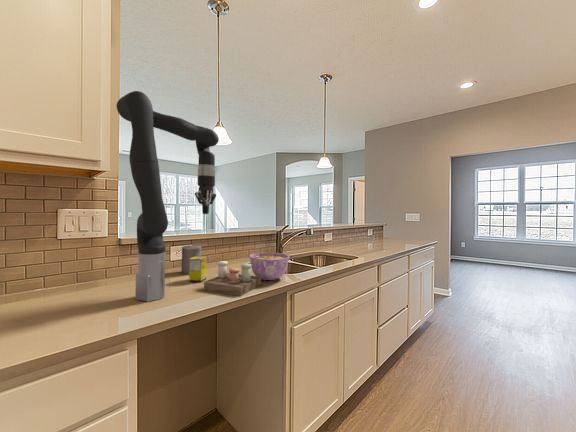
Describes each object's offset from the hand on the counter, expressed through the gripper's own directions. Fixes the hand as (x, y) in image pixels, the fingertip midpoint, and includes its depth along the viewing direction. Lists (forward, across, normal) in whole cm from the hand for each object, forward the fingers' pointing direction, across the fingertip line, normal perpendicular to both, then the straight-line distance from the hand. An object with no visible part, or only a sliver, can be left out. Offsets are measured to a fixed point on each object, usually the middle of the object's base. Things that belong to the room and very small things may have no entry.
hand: (205, 213), depth 124 cm
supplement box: (+32, +3, +6) cm, 33 cm away
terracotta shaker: (+31, +1, -15) cm, 34 cm away
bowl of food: (+32, +21, -23) cm, 45 cm away
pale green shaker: (+28, +1, -21) cm, 35 cm away
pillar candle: (+32, +14, +19) cm, 40 cm away
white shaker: (+28, +1, -9) cm, 30 cm away
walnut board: (+32, +1, -15) cm, 35 cm away
